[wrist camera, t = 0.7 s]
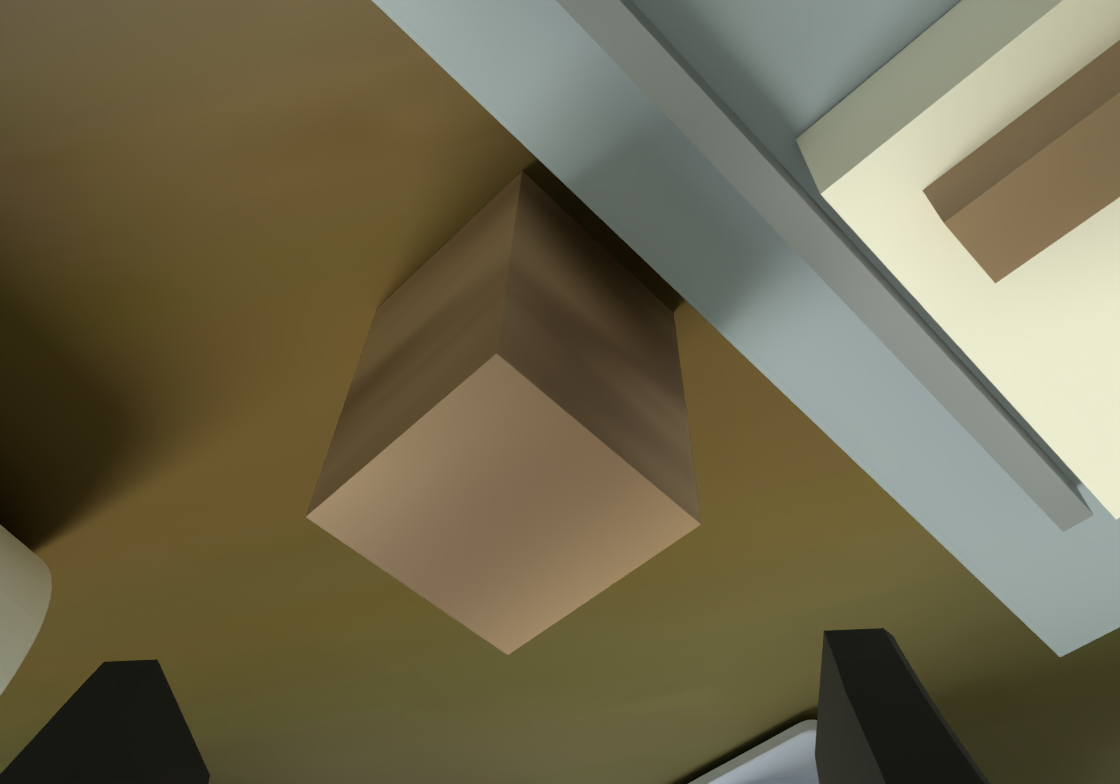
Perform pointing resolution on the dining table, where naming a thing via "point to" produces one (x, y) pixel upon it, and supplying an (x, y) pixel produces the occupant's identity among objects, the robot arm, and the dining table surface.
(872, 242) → the cover
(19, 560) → the mug
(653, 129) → the puzzle board
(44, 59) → the dining table surface
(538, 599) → the brown wooden block
